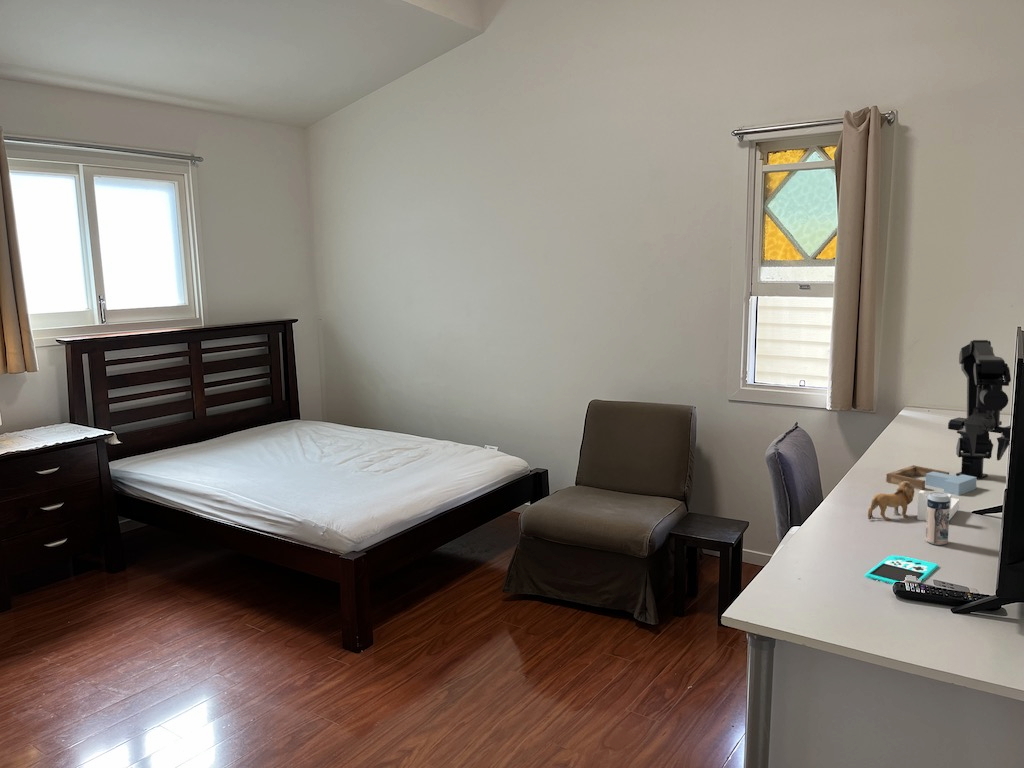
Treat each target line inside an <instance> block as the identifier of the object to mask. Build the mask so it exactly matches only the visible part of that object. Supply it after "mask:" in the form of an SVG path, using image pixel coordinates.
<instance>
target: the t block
mask: <svg viewBox="0 0 1024 768" xmlns="http://www.w3.org/2000/svg"><path fill="white" fill-rule="evenodd" d="M977 480H978V479H977V477H973V476H968V475H963V474H962V475H959V476H958V475H953V474H950V473H949V474H944V473H939V472H934V471H933V472H930V473H927V474H926V477H925V486H928V487H932V488H938V489H942V490H943V493H945V494H951V495H955V496H961V495H963V494H966V493H968V492H972V491H973V490H975V489H977Z"/></svg>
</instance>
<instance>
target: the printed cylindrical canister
mask: <svg viewBox="0 0 1024 768" xmlns="http://www.w3.org/2000/svg"><path fill="white" fill-rule="evenodd" d="M947 494H948V493H945V492H940V491H939V492H936V491H933V492H930V493H929V494H928V495H927V498H928V500H927V521H926V525H925V526H926V527H925V541H926V542H927V543H929V544H931V545H934V546H944V545H947V544H948V543H949V530H950V529H949V528H950V527H949V526H950V525H949V524H950V523H949V522H950V520H949V509H950V498H949V497H948V495H947Z"/></svg>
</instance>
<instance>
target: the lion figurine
mask: <svg viewBox="0 0 1024 768" xmlns="http://www.w3.org/2000/svg"><path fill="white" fill-rule="evenodd" d="M914 496H915V488H914V486H913V485H912V483H910V482H908V481H903V482H901V483H899V485H898V488H897V489H896V492H894V493H882V492H881V493H880V492H879V493H877V494H874V496H873V499H872V501H871V505H870V507H869V508H868V512H867V517H868V520H871V519H873V518H874V515H873V511H874V510H876V508H878V507H879V509H880V517H882V519H883V520H885V521H889V520H890V518H889V517H888V516H886V511H887V508H894V510H893V515H895V516H896V515H900V513H899V507H901V508H902V512H901V514H902V515H901V516H902V517H903V518H906V519H907V518H908V517H909V516H908V514H907V511H908V505H910V504H911V503H912V502H913V500H914Z"/></svg>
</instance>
